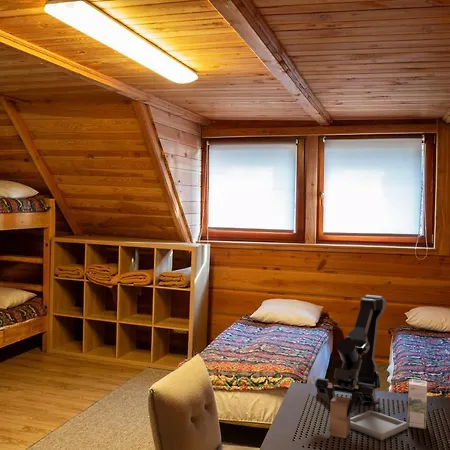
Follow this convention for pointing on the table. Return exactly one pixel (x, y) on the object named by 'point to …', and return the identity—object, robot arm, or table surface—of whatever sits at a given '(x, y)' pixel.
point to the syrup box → (417, 403)
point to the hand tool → (323, 397)
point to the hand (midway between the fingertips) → (339, 414)
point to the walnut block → (339, 417)
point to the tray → (377, 424)
